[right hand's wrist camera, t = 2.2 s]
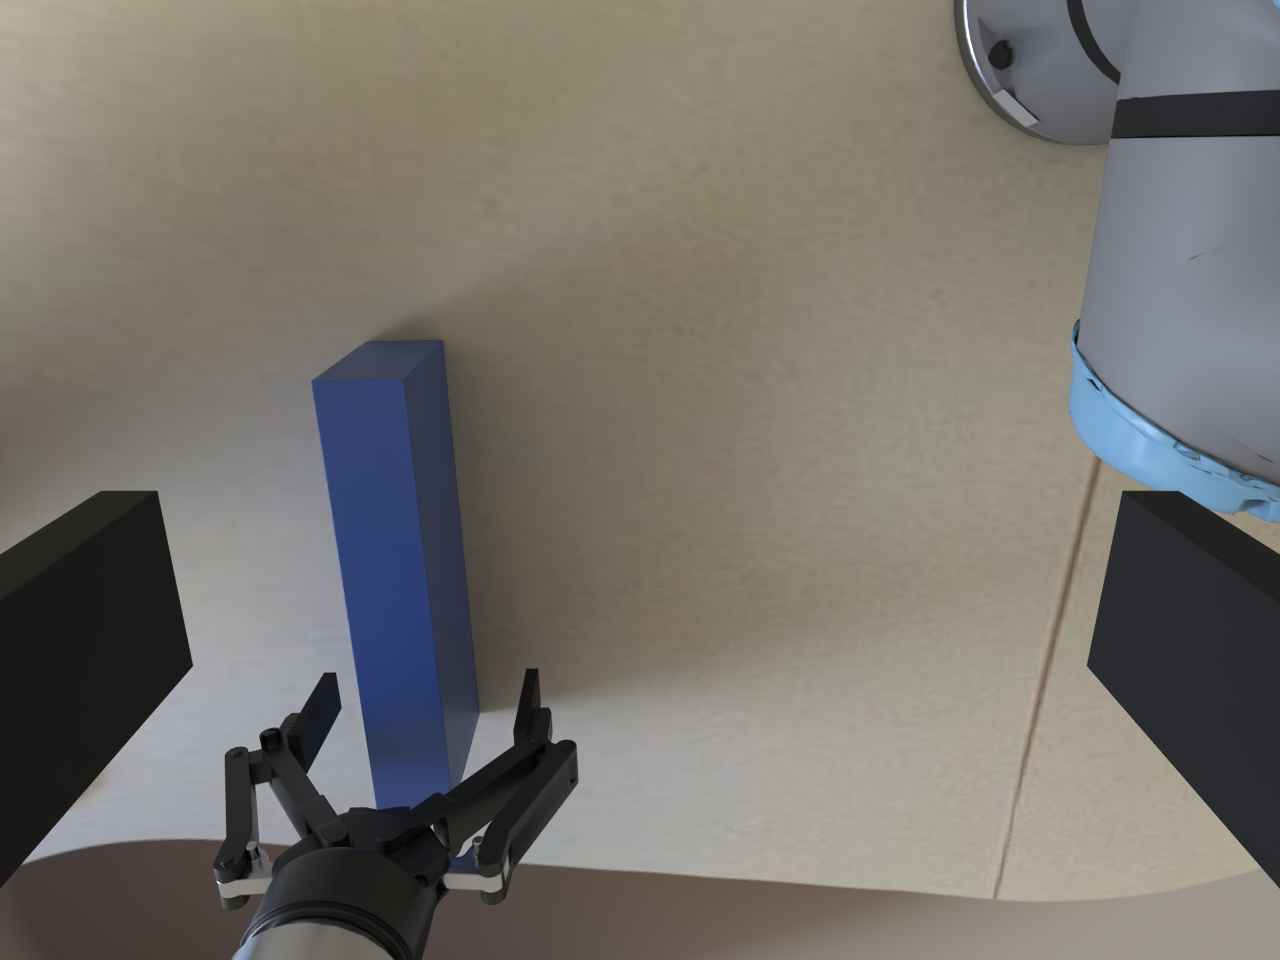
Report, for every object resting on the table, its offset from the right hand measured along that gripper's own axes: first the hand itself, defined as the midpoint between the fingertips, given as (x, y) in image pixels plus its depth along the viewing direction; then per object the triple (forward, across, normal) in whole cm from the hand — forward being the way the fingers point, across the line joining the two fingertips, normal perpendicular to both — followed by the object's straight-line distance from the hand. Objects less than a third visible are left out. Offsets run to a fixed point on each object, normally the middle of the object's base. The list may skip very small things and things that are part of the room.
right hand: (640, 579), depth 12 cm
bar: (+40, -14, -18) cm, 46 cm away
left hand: (+38, -13, -27) cm, 48 cm away
